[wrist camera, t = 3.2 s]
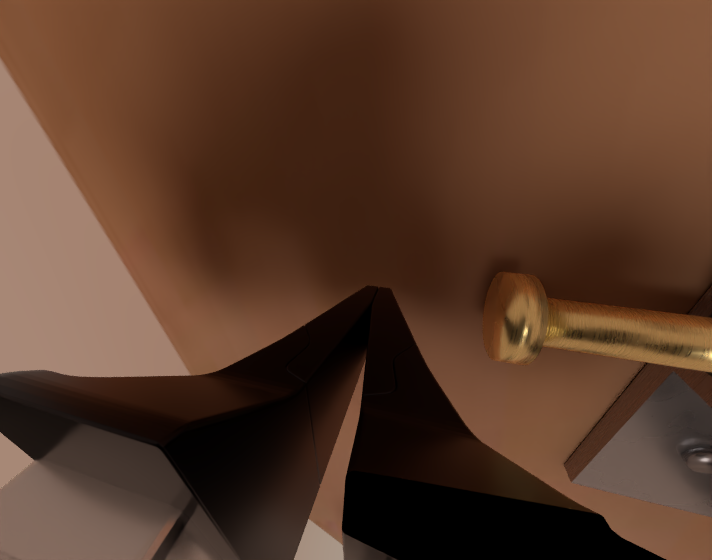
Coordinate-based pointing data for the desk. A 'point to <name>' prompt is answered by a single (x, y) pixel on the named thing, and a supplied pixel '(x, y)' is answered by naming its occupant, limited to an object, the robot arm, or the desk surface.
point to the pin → (587, 328)
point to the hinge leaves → (655, 438)
